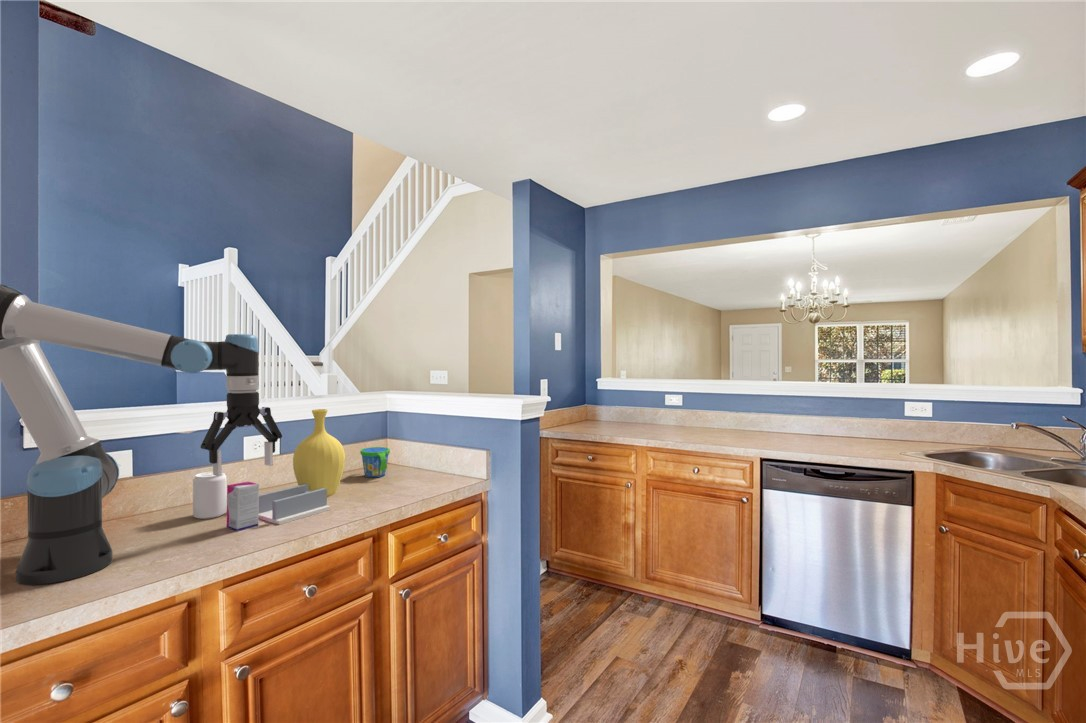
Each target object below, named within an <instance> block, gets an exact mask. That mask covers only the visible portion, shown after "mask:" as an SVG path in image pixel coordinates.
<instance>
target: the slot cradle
mask: <svg viewBox="0 0 1086 723" xmlns="http://www.w3.org/2000/svg"><path fill="white" fill-rule="evenodd" d="M327 498H328V496H327V489H325V488H322V489H318V490H314V491H308V484H303V485H299V486H298V485H295V486H290V487H287V488H282V489H279V490H278V489H277V490H273V491H270V492H269V491H268V492H266V493H261V494H259V518H258V520H262V521H266V522H269V523H272V524H275V525H279V526H280V525H283V524H287V523H289V522H293V521H296V520H300V519H304V518H306V517H309V516H314V515H318V514H320V513H324V512H327V511H329V510H331V506H330V505H328V504H327V503H328V501H327V500H328V499H327Z"/></svg>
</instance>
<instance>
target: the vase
mask: <svg viewBox="0 0 1086 723" xmlns="http://www.w3.org/2000/svg"><path fill="white" fill-rule="evenodd" d="M311 414H312V415H313V417H314V429H313V432H312V433H311V434H310V435H308V436H307V437H305V438H304V439H303V440H302V441H300V443H299V444H298V445H297V446H296V447H295V450H294V452H293V457H292V467H293V472H294V476H295V479H296V483H297V486H299V485H303V484H308V491H314V490H318V489H322V488H325V489H327V497H331V496H333V495H335V494H336V493H337V491H338V488H339V486H340V483H341V479H342V476H343V474H344V473H343V472H344V470H345V464H346V452H345V450H344V446H343V444H342V443H341V442H340V441H339V440H338V439H337V438H336V437H334V436H333V435H331V434H329V433H328V432H327V430H326V428H325V419H326V416H327V414H328V409H327V408H326V409H325V408H317V409H312V410H311Z"/></svg>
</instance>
